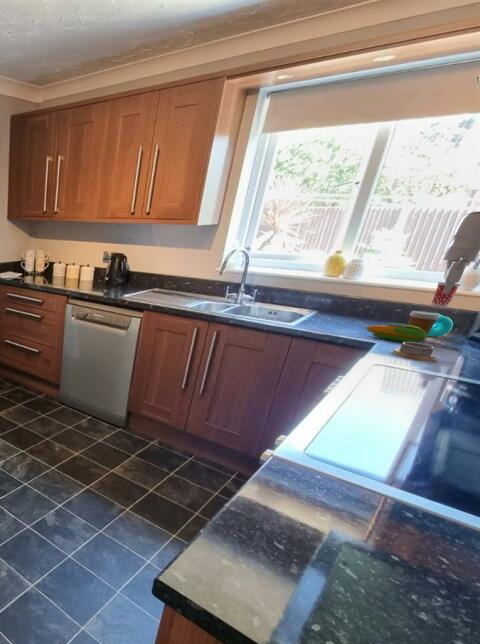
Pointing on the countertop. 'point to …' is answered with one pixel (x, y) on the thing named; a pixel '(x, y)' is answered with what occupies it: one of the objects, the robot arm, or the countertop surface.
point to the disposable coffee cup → (423, 320)
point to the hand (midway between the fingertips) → (445, 292)
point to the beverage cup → (443, 295)
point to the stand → (415, 351)
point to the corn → (398, 333)
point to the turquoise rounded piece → (441, 326)
